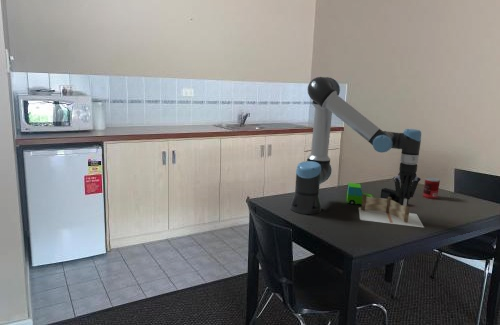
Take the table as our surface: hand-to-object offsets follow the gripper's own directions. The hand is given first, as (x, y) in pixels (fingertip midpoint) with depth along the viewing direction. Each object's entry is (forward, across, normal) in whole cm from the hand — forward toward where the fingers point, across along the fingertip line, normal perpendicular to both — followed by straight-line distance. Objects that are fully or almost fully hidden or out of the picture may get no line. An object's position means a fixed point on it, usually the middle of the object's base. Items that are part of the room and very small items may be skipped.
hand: (402, 211), depth 185 cm
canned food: (+5, +39, +36) cm, 53 cm away
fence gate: (+3, -1, +1) cm, 4 cm away
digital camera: (+5, +8, +26) cm, 27 cm away
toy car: (+5, -10, +24) cm, 27 cm away
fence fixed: (+4, -8, +11) cm, 14 cm away
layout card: (+4, -5, +3) cm, 7 cm away
